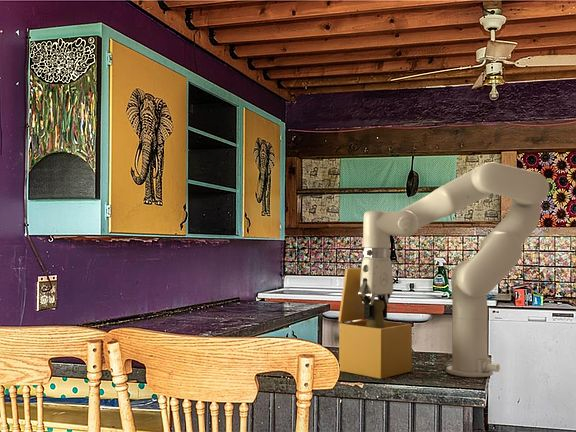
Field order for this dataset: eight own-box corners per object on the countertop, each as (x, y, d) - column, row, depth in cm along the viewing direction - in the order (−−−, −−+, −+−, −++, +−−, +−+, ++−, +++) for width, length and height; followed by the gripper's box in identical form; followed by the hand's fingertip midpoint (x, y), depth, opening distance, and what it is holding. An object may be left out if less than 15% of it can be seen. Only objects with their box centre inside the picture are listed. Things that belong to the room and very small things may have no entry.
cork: (383, 340, 190) (383, 300, 190) (362, 339, 192) (362, 299, 192) (387, 337, 196) (388, 299, 196) (367, 336, 198) (367, 298, 198)
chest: (411, 371, 194) (412, 324, 194) (380, 378, 183) (381, 329, 183) (370, 363, 204) (370, 319, 204) (338, 370, 193) (339, 323, 194)
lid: (379, 267, 202) (365, 263, 206) (347, 268, 192) (334, 265, 195) (371, 318, 204) (358, 313, 207) (340, 322, 193) (327, 317, 197)
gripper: (368, 255, 185) (367, 322, 185) (404, 254, 198) (403, 317, 197) (346, 254, 191) (346, 319, 190) (383, 253, 203) (382, 314, 203)
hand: (375, 317), depth 194 cm, fingers closed on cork, 5 cm apart
